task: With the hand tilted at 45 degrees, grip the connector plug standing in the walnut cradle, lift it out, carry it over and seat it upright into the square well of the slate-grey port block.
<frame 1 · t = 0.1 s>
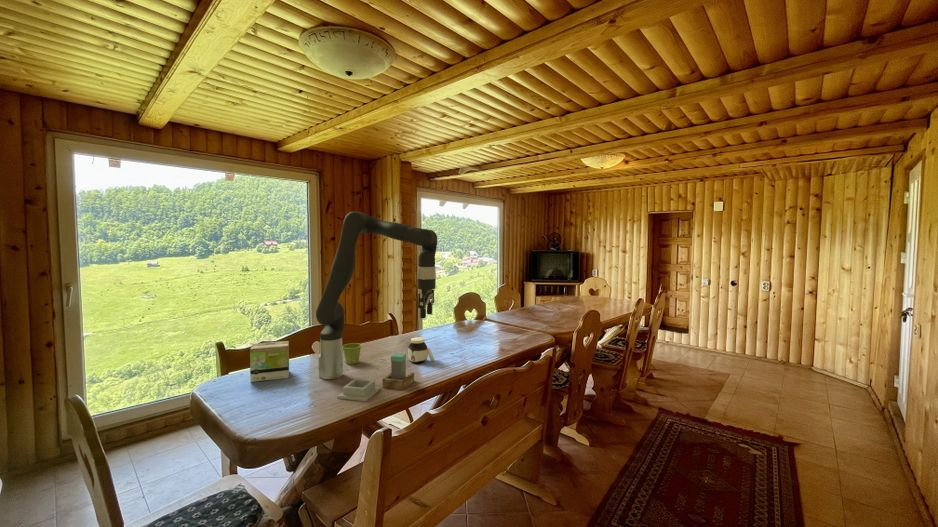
hand: (426, 316, 158), 29 cm above the table, tool pointing down, fingers open, 8 cm apart
port block: (359, 393, 150), on the table
plant pot: (352, 363, 188), on the table
cradle: (398, 384, 160), on the table
spread jar: (421, 361, 190), on the table
plug: (398, 380, 160), point 1 cm above the table, touching cradle
tea box: (270, 377, 168), on the table
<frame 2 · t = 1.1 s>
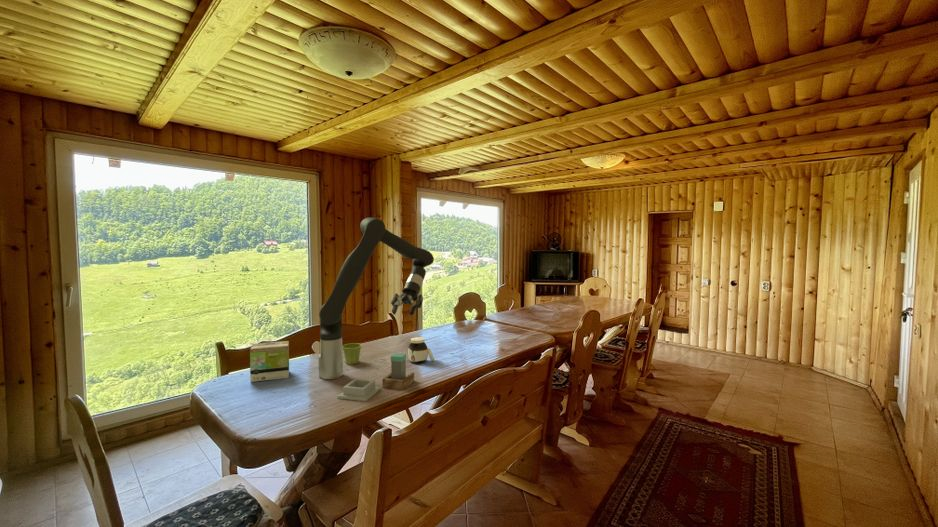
hand: (402, 314, 169), 28 cm above the table, tool tilted 45°, fingers open, 8 cm apart
nothing on the table moved.
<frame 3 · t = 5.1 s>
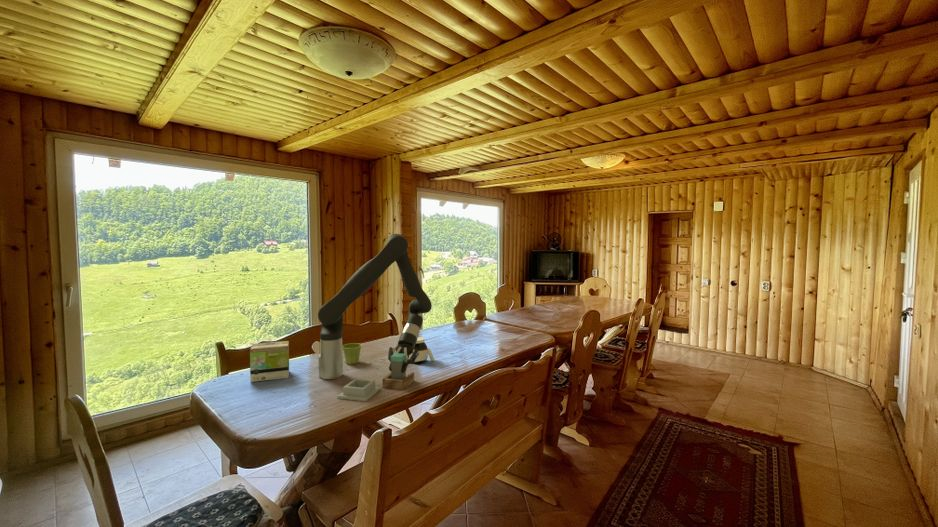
hand: (396, 371, 158), 6 cm above the table, tool tilted 45°, fingers closed on plug, 4 cm apart
plug: (398, 380, 160), point 2 cm above the table, touching cradle, gripper
everything else where it was.
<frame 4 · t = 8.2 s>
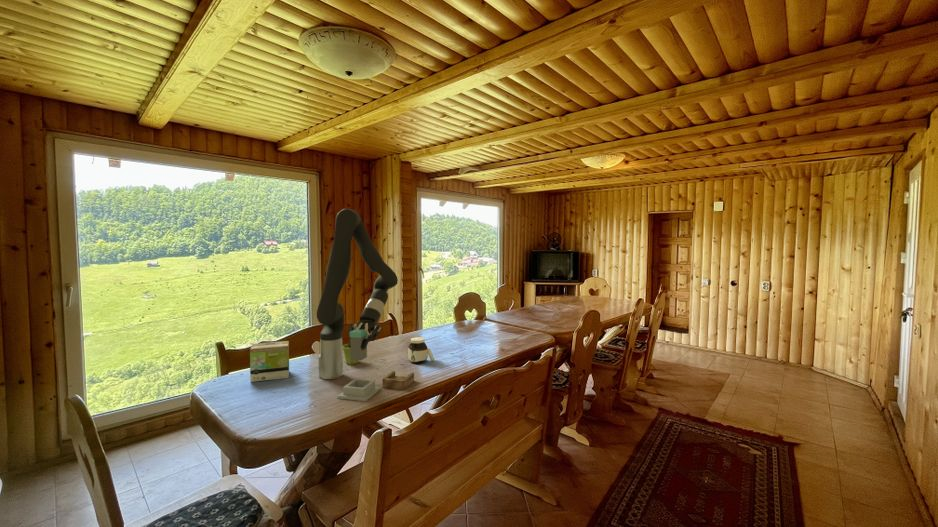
hand: (356, 348, 147), 19 cm above the table, tool tilted 45°, fingers closed on plug, 4 cm apart
plug: (358, 358, 149), point 14 cm above the table, touching gripper
everything else where it was.
when the fingers open (7 cm above the table, at t = 11.3 s): plug drops 1 cm, resting on port block.
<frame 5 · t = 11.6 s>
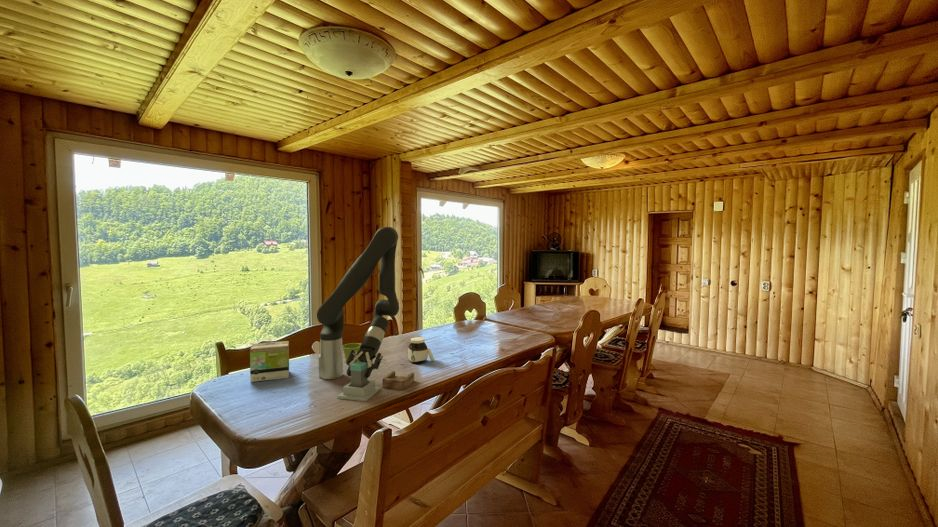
hand: (357, 376, 148), 8 cm above the table, tool tilted 45°, fingers open, 7 cm apart
plug: (359, 391, 150), point 1 cm above the table, touching port block
everything else where it was.
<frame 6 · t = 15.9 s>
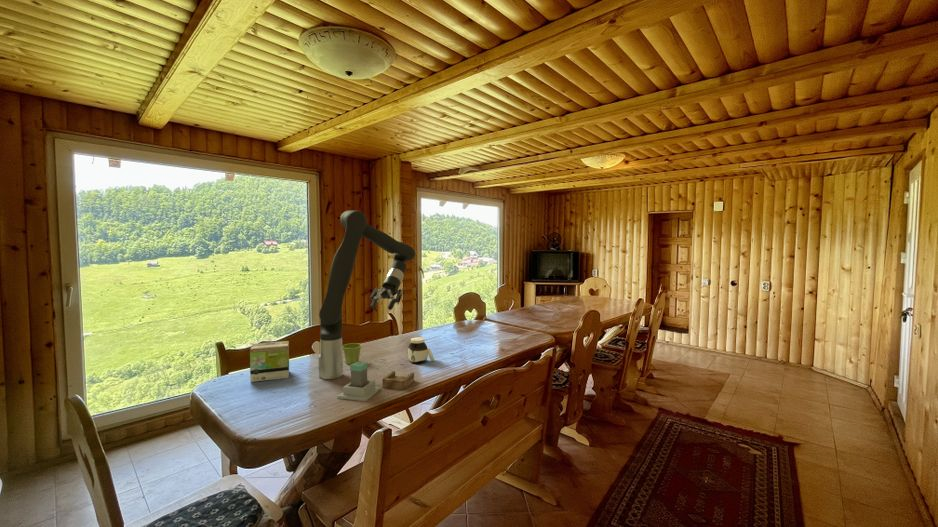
hand: (380, 308, 167), 31 cm above the table, tool tilted 45°, fingers open, 8 cm apart
nothing on the table moved.
at the end: plug 0.1 cm off-centre on the port block, point 1.0 cm above the port block's base; plug tilted 0°; the gripper is holding nothing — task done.
